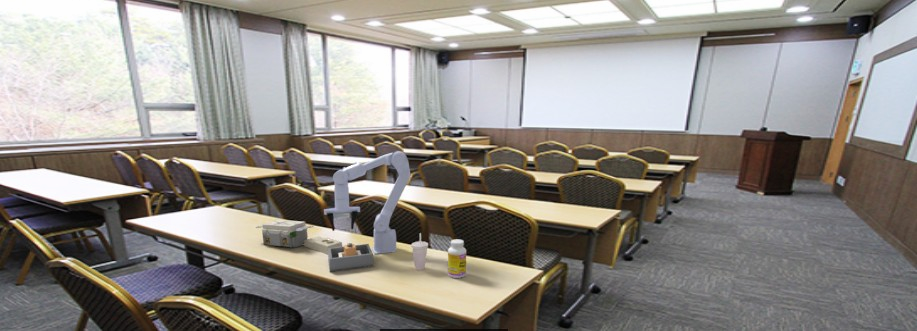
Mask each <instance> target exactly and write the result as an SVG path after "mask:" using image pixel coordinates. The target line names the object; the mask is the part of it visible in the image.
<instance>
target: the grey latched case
mask: <svg viewBox="0 0 917 331" xmlns="http://www.w3.org/2000/svg"><path fill="white" fill-rule="evenodd" d="M255 228H256V229H259V228H261V232H262V242H263V245H267V244H268V245H269V246H276V247H288V248H297V247H300V246H304V240H307V239H309V236H308V229H310V228H314V225H307V224H306V221H300V220H299V221H298V220H285V219H284V220H283V219H276V220H273V221H269V222H266V223H263V224H262V225H258V226H255Z"/></svg>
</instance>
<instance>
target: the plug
mask: <svg viewBox="0 0 917 331" xmlns="http://www.w3.org/2000/svg"><path fill="white" fill-rule="evenodd" d="M343 247H344V257H345V256H353V255H356V247H355V244H353V243H351V242H348V243H347V244H346V245H343Z"/></svg>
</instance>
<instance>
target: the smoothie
mask: <svg viewBox="0 0 917 331" xmlns="http://www.w3.org/2000/svg"><path fill="white" fill-rule="evenodd" d="M411 248H412V254H413V261H414V263H413V264H414V269H415V270H416V271H423V270H425V269H426V264H427V263H426V261H427V254H428V248H429V243H428V242H426V241H422V233H421V232H420V233H419V240H418V241H415V242H412V243H411Z"/></svg>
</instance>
